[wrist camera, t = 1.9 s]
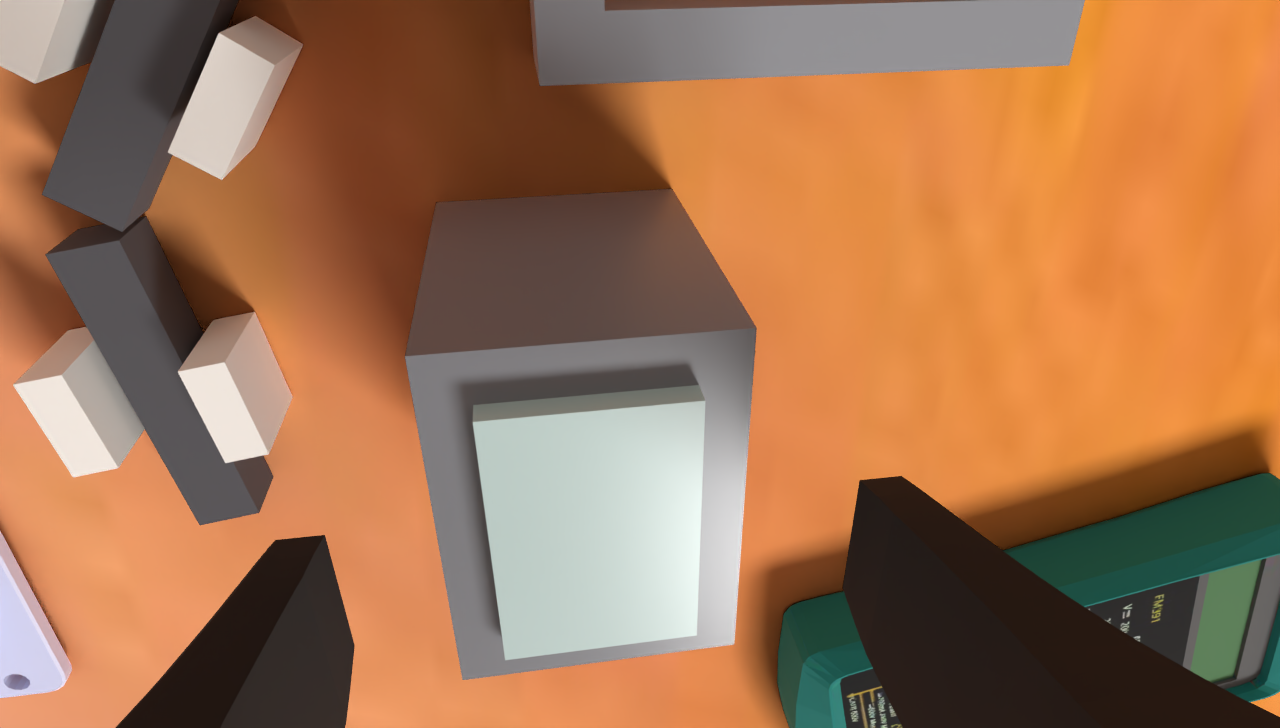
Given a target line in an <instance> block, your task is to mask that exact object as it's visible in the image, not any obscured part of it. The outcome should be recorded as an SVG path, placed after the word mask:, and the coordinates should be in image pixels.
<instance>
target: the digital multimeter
mask: <svg viewBox="0 0 1280 728" xmlns="http://www.w3.org/2000/svg"><path fill="white" fill-rule="evenodd" d="M1003 551H1004V552H1005V553H1007V554H1008V555H1009V556H1011V557H1012V558H1014V559H1015V560H1016V561H1018V562H1019V563H1021V564H1022V565H1023V566H1025V567H1026V568H1028V569H1029V570H1030V571H1032V572H1033V573H1035V574H1036V575H1038V576H1039V577H1040V578H1042V579H1043V580H1045V581H1046V582H1048V583H1049V584H1051V585H1052V586H1054V587H1055V588H1056V589H1058V590H1059V591H1061V592H1062V593H1064V594H1065V595H1067V596H1068V597H1070V598H1071V599H1073V600H1074V601H1076V602H1078V603H1079V604H1081V605H1082V606H1084V607H1085V608H1087V609H1088V610H1090V611H1091V612H1093V613H1094V614H1096V615H1098V616H1099V617H1101V618H1102V619H1104V620H1105V621H1107V622H1108V623H1110V624H1111V625H1113V626H1115V627H1116V628H1118V629H1119V630H1121V631H1123V632H1124V633H1126V634H1128V635H1129V636H1131V637H1133V638H1134V639H1136V640H1138V641H1139V642H1141V643H1143V644H1144V645H1146V646H1148V647H1149V648H1151V649H1153V650H1155V651H1156V652H1158V653H1160V654H1162V655H1163V656H1165V657H1167V658H1169V659H1171V660H1172V661H1174V662H1176V663H1178V664H1179V665H1181V666H1183V667H1185V668H1186V669H1188V670H1190V671H1192V672H1193V673H1195V674H1197V675H1199V676H1200V677H1202V678H1204V679H1206V680H1208V681H1210V682H1211V683H1213V684H1215V685H1217V686H1219V687H1221V688H1223V689H1225V690H1227V691H1229V692H1230V693H1232V694H1234V695H1236V696H1238V697H1240V698H1242V699H1244V700H1246V701H1248V702H1253V701H1257V700H1261V699H1265V698H1268V697H1270V696H1273V695H1275V694H1277V693H1278V692H1280V479H1278V478H1277V477H1276V476H1274V475H1272V474H1271V473H1263V474H1257V475H1254V476H1250V477H1247V478H1243V479H1239V480H1236V481H1232V482H1229V483H1225V484H1222V485H1218V486H1215V487H1211V488H1208V489H1204V490H1201V491H1198V492H1195V493H1192V494H1189V495H1186V496H1183V497H1179V498H1176V499H1173V500H1170V501H1167V502H1164V503H1161V504H1158V505H1155V506H1151V507H1148V508H1145V509H1142V510H1139V511H1136V512H1133V513H1130V514H1127V515H1123V516H1120V517H1117V518H1114V519H1110V520H1107V521H1103V522H1099V523H1096V524H1092V525H1089V526H1085V527H1082V528H1078V529H1075V530H1071V531H1068V532H1065V533H1061V534H1058V535H1054V536H1051V537H1047V538H1044V539H1041V540H1037V541H1034V542H1030V543H1027V544H1024V545H1020V546H1017V547H1013V548H1010V549H1007V550H1003ZM777 684H778V688H779V693H780V697H781V702H782V707H783V710H784V713H785V716H786V719H787V722H788V725H789V728H903V727H902V725H901V723H900V721H899V719H898V717H897V715H896V713H895V711H894V709H893V708H892V706H891V704H890V702H889V699H888V697H887V695H886V693H885V691H884V689H883V687H882V685H881V683H880V681H879V679H878V677H877V675H876V673H875V671H874V669H873V667H872V665H871V663H870V661H869V659H868V657H867V655H866V652H865V650H864V647H863V644H862V642H861V639H860V636H859V633H858V631H857V628H856V625H855V623H854V620H853V617H852V614H851V611H850V608H849V605H848V602H847V599H846V596H845V593H844V591H842V592H838V593H833V594H829V595H825V596H821V597H817V598H813V599H809V600H806V601H802V602H798V603H796V604H794V605H792V606H790V607H789V608H788V609H787V611H786V612H785V613H784V616H783V622H782V629H781V636H780V643H779V650H778V674H777Z"/></svg>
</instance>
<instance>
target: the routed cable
mask: <svg viewBox="0 0 1280 728" xmlns="http://www.w3.org/2000/svg"><path fill="white" fill-rule="evenodd" d="M238 1H239V0H0V66H1V67H3V68H5V69H7V70H9V71H11V72H13V73H15V74H17V75H19V76H21V77H23V78H25V79H27V80H29V81H30V82H32V83H34V84H36V83H39V82H41V81H44V80H46V79H49V78H51V77H54V76H57V75H59V74H62V73H64V72H67V71H69V70H72V69H75V68H77V67H80V66H82V65H85V64H87V63H90V62H92V63H91V65H90V68H89V71H88V73H87V76H86V79H85V81H84V84H83V87H82V89H81V92H80V95H79V97H78V100H77V103H76V105H75V108H74V111H73V113H72V116H71V119H70V121H69V124H68V127H67V129H66V132H65V135H64V137H63V140H62V143H61V145H60V148H59V151H58V153H57V156H56V159H55V161H54V164H53V167H52V169H51V172H50V175H49V177H48V180H47V183H46V185H45V188H44V191H43V193H42V195H43V196H46V197H48V198H50V199H52V200H54V201H56V202H59V203H61V204H63V205H65V206H67V207H69V208H72V209H74V210H76V211H78V212H80V213H82V214H84V215H87V216H89V217H91V218H93V219H95V220H97V221H100V222H102V223H104V224H103V225H98V226H93V227H88V228H82V229H78V230H76V231H75V232H74V233H72V234H71V235H70V236H69V237H67V238H66V239H65V240H63V241H62V242H61V243H60V244H58V245H57V246H56V247H54V248H53V249H52V250H51V251H49V252H48V253H47V254H45V255H46V257H47V259H48V260H49V262H50V264H51V266H52V267H53V269H54V271H55V273H56V274H57V276H58V278H59V280H60V281H61V283H62V285H63V287H64V288H65V290H66V292H67V294H68V295H69V297H70V299H71V301H72V302H73V304H74V306H75V308H76V309H77V311H78V313H79V315H80V316H81V318H82V320H83V322H84V323H85V325H86V327H82V328H77V329H72V330H68V331H67V332H66V333H65V334H64V335H63V336H62V337H61V338H60V339H59V340H58V341H57V342H56V343H55V344H54V345H53V346H52V347H51V348H49V349H48V350H47V351H46V352H45V353H44V354H43V355H42V356H41V357H40V358H39V359H38V360H37V361H36V362H35V363H34V364H33V365H32V366H31V367H30V368H29V369H28V370H27V371H26V372H25V373H24V374H23V375H22V376H21V377H20V378H19V379H18V380H17V381H16V382H15V383H14V384H13V386H14V387H15V389H16V390H17V392H18V393H19V395H20V396H21V398H22V399H23V401H24V403H25V404H26V406H27V407H28V409H29V410H30V412H31V413H32V415H33V416H34V418H35V419H36V421H37V422H38V424H39V425H40V427H41V429H42V430H43V432H44V433H45V435H46V436H47V438H48V439H49V441H50V442H51V444H52V445H53V447H54V448H55V450H56V452H57V453H58V455H59V456H60V458H61V459H62V461H63V462H64V464H65V465H66V467H67V468H68V470H69V471H70V473H71V475H72V476H73V477H78V476H82V475H87V474H92V473H97V472H102V471H107V470H111V469H116V468H119V466H120V465H121V463H122V462H123V460H124V459H125V457H126V456H127V454H128V453H129V452H130V450H131V449H132V447H133V446H134V444H135V443H136V441H137V440H138V438H139V437H140V435H141V434H142V432H143V431H144V429H145V430H146V432H147V434H148V435H149V437H150V439H151V441H152V442H153V444H154V446H155V448H156V449H157V451H158V453H159V455H160V456H161V458H162V460H163V462H164V463H165V465H166V467H167V469H168V470H169V472H170V474H171V476H172V477H173V479H174V481H175V483H176V484H177V486H178V488H179V490H180V491H181V493H182V495H183V497H184V498H185V500H186V502H187V504H188V505H189V507H190V509H191V511H192V512H193V514H194V516H195V518H196V519H197V521H198V523H199V525H203V524H208V523H213V522H218V521H222V520H227V519H232V518H237V517H241V516H246V515H251V514H255V513H259V512H260V509H261V507H262V504H263V502H264V499H265V497H266V494H267V491H268V489H269V486H270V484H271V481H272V479H273V475H272V473H271V471H270V469H269V467H268V465H267V463H266V461H265V459H264V457H263V455H267V454H269V453H270V450H271V448H272V446H273V443H274V441H275V438H276V436H277V434H278V431H279V429H280V426H281V424H282V422H283V419H284V417H285V415H286V412H287V410H288V407H289V405H290V403H291V400H292V398H293V397H292V394H291V392H290V390H289V388H288V385H287V383H286V381H285V379H284V376H283V374H282V372H281V370H280V367H279V365H278V363H277V361H276V358H275V356H274V354H273V352H272V349H271V347H270V345H269V343H268V340H267V338H266V336H265V334H264V331H263V329H262V327H261V324H260V322H259V320H258V318H257V315H256V313H255V312H251V313H246V314H241V315H236V316H230V317H225V318H220V319H215V320H213V321H212V322H211V324H210V325H209V327H208V328H207V330H206V331H205V333H204V334H203V332H202V330H201V328H200V326H199V324H198V322H197V320H196V318H195V315H194V313H193V311H192V309H191V307H190V305H189V303H188V301H187V299H186V297H185V295H184V293H183V291H182V289H181V287H180V285H179V283H178V281H177V279H176V277H175V275H174V273H173V270H172V268H171V266H170V264H169V262H168V260H167V258H166V256H165V254H164V252H163V250H162V248H161V246H160V244H159V242H158V240H157V238H156V236H155V234H154V232H153V230H152V227H151V225H150V223H149V221H148V219H147V217H146V216H145V217H140V216H141V215H142V214H143V213H144V212H145V211H147V210H148V209H149V207H150V205H151V203H152V201H153V198H154V196H155V194H156V191H157V189H158V187H159V184H160V182H161V180H162V177H163V175H164V173H165V170H166V168H167V166H168V163H169V161H170V159H171V157H172V155H174V156H176V157H178V158H180V159H182V160H184V161H186V162H188V163H189V164H191V165H193V166H195V167H197V168H199V169H201V170H203V171H205V172H207V173H209V174H211V175H213V176H215V177H217V178H219V179H221V180H222V179H223V178H224V177H225V176H226V175H227V174H228V173H229V172H230V171H231V170H232V169H233V168H234V167H235V166H236V165H237V164H238V163H239V162H240V161H241V160H242V159H243V158H244V157H245V156H246V155H247V154H248V153H249V152H250V151H251V150H252V149H253V148H254V147H255V146H256V144H257V142H258V140H259V138H260V136H261V134H262V132H263V129H264V127H265V125H266V123H267V121H268V119H269V117H270V115H271V112H272V110H273V108H274V106H275V104H276V102H277V100H278V98H279V95H280V93H281V91H282V89H283V87H284V85H285V83H286V81H287V78H288V76H289V74H290V72H291V70H292V68H293V66H294V64H295V61H296V59H297V57H298V55H299V53H300V51H301V49H302V47H303V44H302V43H300V42H299V41H297V40H295V39H294V38H292V37H290V36H289V35H287V34H285V33H283V32H282V31H280V30H278V29H277V28H275V27H273V26H272V25H270V24H268V23H267V22H265V21H263V20H262V19H260V18H258V17H257V16H254V17H252V18H250V19H247V20H245V21H243V22H241V23H239V24H237V25H235V26H232V27H230V28H228V29H227V27H228V24H229V22H230V20H231V17H232V15H233V13H234V10H235V8H236V6H237V4H238ZM139 217H140V218H139Z"/></svg>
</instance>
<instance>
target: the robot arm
mask: <svg viewBox="0 0 1280 728" xmlns="http://www.w3.org/2000/svg"><path fill="white" fill-rule="evenodd" d="M843 590H844V593H845V596H846V599H847V602H848V605H849V608H850V611H851V614H852V617H853V620H854V623H855V625H856V628H857V631H858V633H859V636H860V639H861V642H862V644H863V647H864V650H865V652H866V655H867V657H868V659H869V661H870V663H871V665H872V667H873V669H874V671H875V673H876V675H877V677H878V679H879V681H880V683H881V685H882V687H883V689H884V691H885V693H886V695H887V697H888V699H889V702H890V704H891V706H892V708H893V709H894V711H895V713H896V715H897V717H898V719H899V721H900V723H901V725H902V727H903V728H1280V717H1278V716H1276V715H1274V714H1272V713H1270V712H1268V711H1266V710H1264V709H1262V708H1260V707H1258V706H1256V705H1254V704H1252V703H1250V702H1248V701H1246V700H1244V699H1242V698H1240V697H1238V696H1236V695H1234V694H1232V693H1230V692H1229V691H1227V690H1225V689H1223V688H1221V687H1219V686H1217V685H1215V684H1213V683H1211V682H1210V681H1208V680H1206V679H1204V678H1202V677H1200V676H1199V675H1197V674H1195V673H1193V672H1192V671H1190V670H1188V669H1186V668H1185V667H1183V666H1181V665H1179V664H1178V663H1176V662H1174V661H1172V660H1171V659H1169V658H1167V657H1165V656H1163V655H1162V654H1160V653H1158V652H1156V651H1155V650H1153V649H1151V648H1149V647H1148V646H1146V645H1144V644H1143V643H1141V642H1139V641H1138V640H1136V639H1134V638H1133V637H1131V636H1129V635H1128V634H1126V633H1124V632H1123V631H1121V630H1119V629H1118V628H1116V627H1115V626H1113V625H1111V624H1110V623H1108V622H1107V621H1105V620H1104V619H1102V618H1101V617H1099V616H1098V615H1096V614H1094V613H1093V612H1091V611H1090V610H1088V609H1087V608H1085V607H1084V606H1082V605H1081V604H1079V603H1078V602H1076V601H1074V600H1073V599H1071V598H1070V597H1068V596H1067V595H1065V594H1064V593H1062V592H1061V591H1059V590H1058V589H1056V588H1055V587H1054V586H1052V585H1051V584H1049V583H1048V582H1046V581H1045V580H1043V579H1042V578H1040V577H1039V576H1038V575H1036V574H1035V573H1033V572H1032V571H1030V570H1029V569H1028V568H1026V567H1025V566H1023V565H1022V564H1021V563H1019V562H1018V561H1016V560H1015V559H1014V558H1012V557H1011V556H1009V555H1008V554H1007V553H1005V552H1004V551H1003V550H1001V549H1000V548H998V547H997V546H996V545H994V544H993V543H992V542H990V541H989V540H988V539H986V538H985V537H983V536H982V535H981V534H979V533H978V532H977V531H975V530H974V529H973V528H971V527H970V526H969V525H967V524H966V523H965V522H963V521H962V520H961V519H959V518H958V517H957V516H955V515H954V514H953V513H951V512H950V511H949V510H947V509H946V508H945V507H943V506H942V505H941V504H939V503H938V502H937V501H935V500H934V499H933V498H931V497H930V496H929V495H927V494H926V493H925V492H923V491H922V490H920V489H919V488H918V487H916V486H915V485H913V484H912V483H911V482H909V481H908V480H906V479H905V478H903V477H902V476H898V477H888V478H878V479H868V480H860V482H859V488H858V495H857V501H856V507H855V513H854V520H853V526H852V532H851V538H850V545H849V551H848V557H847V563H846V570H845V576H844V582H843ZM353 655H354V642H353V638H352V635H351V631H350V627H349V624H348V620H347V616H346V612H345V609H344V605H343V601H342V597H341V594H340V590H339V586H338V583H337V579H336V575H335V571H334V568H333V564H332V560H331V556H330V553H329V549H328V545H327V542H326V538H325V535H321V536H311V537H301V538H292V539H282V540H275V541H274V542H273V544H272V545H271V546H270V547H269V548H268V549H267V550H266V551H265V553H264V554H263V555H262V556H261V558H260V559H259V560H258V561H257V562H256V564H255V565H254V566H253V567H252V569H251V570H250V571H249V572H248V574H247V575H246V576H245V577H244V579H243V580H242V581H241V582H240V584H239V585H238V586H237V587H236V589H235V590H234V591H233V592H232V594H231V595H230V596H229V597H228V599H227V600H226V601H225V602H224V603H223V605H222V606H221V607H220V608H219V610H218V611H217V612H216V613H215V614H214V616H213V617H212V618H211V619H210V621H209V622H208V623H207V624H206V626H205V627H204V628H203V629H202V630H201V632H200V633H199V634H198V635H197V636H196V637H195V639H194V640H193V641H192V642H191V643H190V644H189V646H188V647H187V648H186V649H185V650H184V652H183V653H182V654H181V655H180V656H179V657H178V659H177V660H176V661H175V662H174V663H173V664H172V666H171V667H170V668H169V669H168V670H167V671H166V673H165V674H164V675H163V676H162V677H161V678H160V680H159V681H158V682H157V683H156V684H155V685H154V686H153V688H152V689H151V690H150V691H149V692H148V693H147V694H146V695H145V696H144V698H143V699H142V700H141V701H140V702H139V703H138V704H137V705H136V706H135V707H134V708H133V709H132V710H131V712H130V713H129V714H128V715H127V716H126V717H125V718H124V719H123V720H122V721H121V722H120V723H119V725H118V726H117V727H116V728H345V725H346V718H347V710H348V702H349V694H350V685H351V675H352V665H353ZM71 671H72V667H71V663H70V661H69V659H68V658H67V656H66V654H65V652H64V650H63V648H62V646H61V644H60V642H59V641H58V639H57V637H56V635H55V633H54V631H53V629H52V627H51V625H50V624H49V622H48V620H47V618H46V616H45V614H44V612H43V610H42V608H41V607H40V605H39V603H38V601H37V599H36V597H35V595H34V593H33V591H32V590H31V588H30V586H29V584H28V582H27V580H26V578H25V576H24V574H23V573H22V571H21V569H20V567H19V565H18V563H17V561H16V559H15V557H14V556H13V554H12V552H11V550H10V548H9V546H8V544H7V542H6V540H5V539H4V537H3V535H2V533H1V531H0V698H5V697H14V696H22V695H30V694H38V693H46V692H51V691H55V690H58V689H60V688H61V687H63V686H64V684H65V683H66V681H67V679H68V677H69V675H70V673H71Z"/></svg>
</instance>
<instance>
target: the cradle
mask: <svg viewBox="0 0 1280 728" xmlns="http://www.w3.org/2000/svg"><path fill="white" fill-rule="evenodd" d="M529 1H530V15H531V29H532V43H533V57H534V62H535V67H536V71H537V76H538V80H539V85H540V86H551V85H577V84H603V83H628V82H654V81H679V80H705V79H730V78H756V77H781V76H807V75H833V74H858V73H884V72H909V71H935V70H960V69H986V68H1011V67H1037V66H1062V65H1069V63H1070V59H1071V55H1072V51H1073V47H1074V43H1075V39H1076V34H1077V30H1078V26H1079V22H1080V18H1081V14H1082V10H1083V6H1084V2H1085V0H529Z"/></svg>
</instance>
